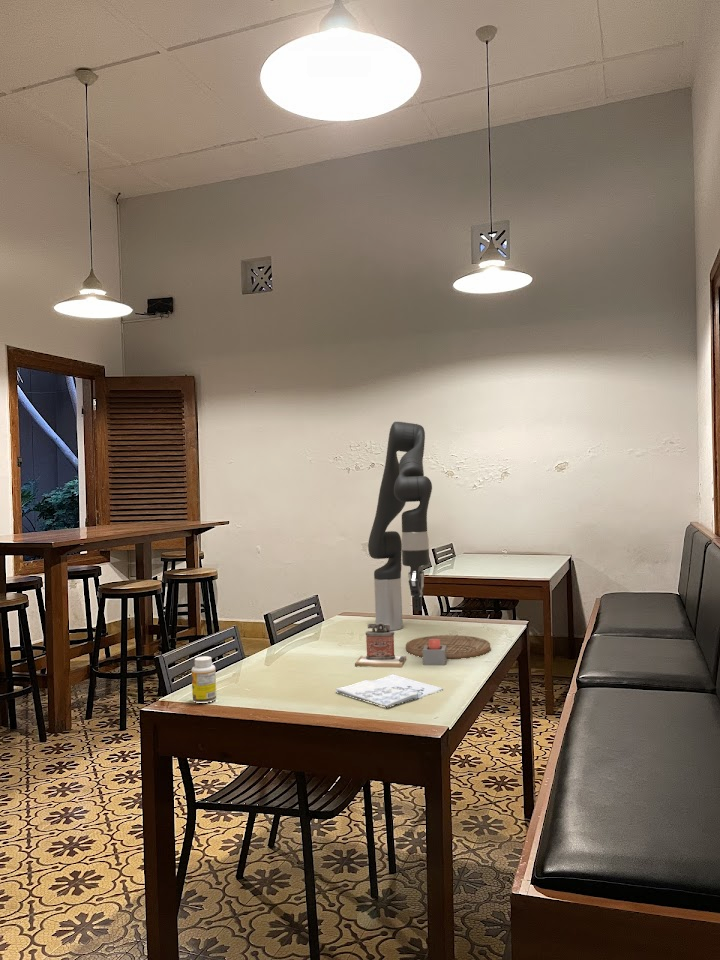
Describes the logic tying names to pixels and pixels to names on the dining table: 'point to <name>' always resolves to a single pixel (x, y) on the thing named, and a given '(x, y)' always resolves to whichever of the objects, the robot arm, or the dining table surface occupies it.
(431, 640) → the button
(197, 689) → the supplement bottle
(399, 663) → the clipboard
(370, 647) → the lighter
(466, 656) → the trivet
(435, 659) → the button box
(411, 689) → the folded patterned cloth
